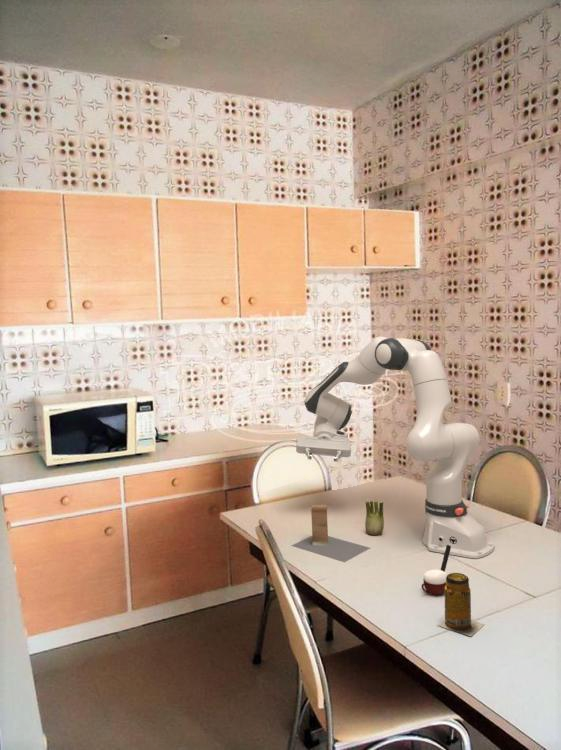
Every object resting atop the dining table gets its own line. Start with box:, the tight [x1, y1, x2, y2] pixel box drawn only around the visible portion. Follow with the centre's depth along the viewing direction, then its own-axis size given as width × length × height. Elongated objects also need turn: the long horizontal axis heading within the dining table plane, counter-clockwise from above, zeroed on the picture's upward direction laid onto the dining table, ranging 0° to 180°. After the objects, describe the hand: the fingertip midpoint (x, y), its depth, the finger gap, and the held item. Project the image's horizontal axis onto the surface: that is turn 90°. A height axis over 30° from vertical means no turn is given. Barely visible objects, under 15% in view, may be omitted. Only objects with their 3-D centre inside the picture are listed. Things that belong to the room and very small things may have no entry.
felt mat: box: [291, 535, 371, 563], centre depth 197 cm, size 22×14×1 cm, turn 47°
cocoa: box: [421, 545, 451, 596], centre depth 162 cm, size 10×6×12 cm, turn 93°
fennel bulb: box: [364, 500, 385, 537], centre depth 206 cm, size 6×5×12 cm
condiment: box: [438, 572, 485, 637], centre depth 145 cm, size 7×8×12 cm
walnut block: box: [310, 504, 329, 545], centre depth 200 cm, size 5×5×12 cm
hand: (322, 458), depth 217 cm, fingers open, 8 cm apart
